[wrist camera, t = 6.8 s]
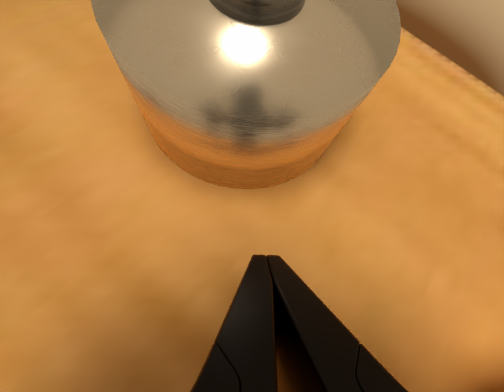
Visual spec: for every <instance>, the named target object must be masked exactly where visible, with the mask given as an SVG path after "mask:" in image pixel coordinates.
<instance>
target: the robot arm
mask: <svg viewBox="0 0 504 392" xmlns="http://www.w3.org/2000/svg"><path fill="white" fill-rule="evenodd" d="M190 392H408V391H407V390H406V389H405V388H404V387H403V386H402V385H401V384H400V383H399V382H398V381H397V380H396V379H395V378H394V377H393V376H392V375H391V374H390V373H389V372H388V371H387V370H386V369H385V368H384V367H383V366H382V365H381V364H380V363H379V362H378V361H377V360H376V359H375V358H374V357H373V355H372V354H371V353H370V352H369V351H368V350H367V349H366V348H365V347H364V346H363V345H362V344H360V345H359V341H358V340H357V338H356V337H355V336H354V335H353V334H352V333H351V332H350V331H349V330H348V329H347V328H346V327H345V326H344V325H343V323H342V322H341V321H340V320H339V319H338V318H337V317H336V316H335V315H334V314H333V313H332V312H331V311H330V310H329V308H328V307H327V306H326V305H325V304H324V303H323V302H322V301H321V300H320V299H319V298H318V297H317V296H316V295H315V293H314V292H313V291H312V290H311V289H310V288H309V287H308V286H307V285H306V284H305V283H304V282H303V281H302V280H301V278H300V277H299V276H298V275H297V274H296V273H295V272H294V271H293V270H292V269H291V268H290V267H289V266H288V265H287V263H286V262H285V261H284V260H283V259H282V258H281V257H280V256H278V255H267V256H265V255H253V256H252V258H251V260H250V262H249V264H248V267H247V269H246V271H245V274H244V276H243V278H242V280H241V283H240V285H239V287H238V289H237V292H236V294H235V296H234V298H233V301H232V303H231V305H230V308H229V310H228V312H227V314H226V317H225V319H224V321H223V323H222V326H221V328H220V330H219V332H218V335H217V337H216V339H215V342H214V344H213V346H212V348H211V350H210V352H209V355H208V357H207V359H206V361H205V363H204V365H203V367H202V369H201V372H200V374H199V376H198V378H197V380H196V382H195V384H194V386H193V387H192V389H191V391H190Z"/></svg>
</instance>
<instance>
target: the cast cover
mask: <svg viewBox="0 0 504 392" xmlns="http://www.w3.org/2000/svg"><path fill="white" fill-rule="evenodd" d="M91 3H92V8H93V11H94V15H95V18H96V21H97V23H98V25H99V27H100V29H101V31H102V33H103V36H104V38H105V40H106V42H107V44H108V46H109V48H110V50H111V52H112V54H113V56H114V58H115V60H116V62H117V64H118V66H119V68H120V70H121V72H122V74H123V76H124V78H125V80H126V82H127V84H128V87H129V89H130V91H131V93H132V95H133V97H134V99H135V101H136V103H137V105H138V107H139V109H140V111H141V113H142V115H143V117H144V119H145V121H146V123H147V125H148V127H149V129H150V131H151V133H152V135H153V137H154V139H155V141H156V143H157V144H158V146H159V147H160V148H161V150H162V151H163V152H164V153H165V154H166V155H167V156H168V157H169V159H170V160H171V161H173V162H174V163H175V164H176V165H178V166H179V167H180V168H181V169H183V170H185V171H186V172H188V173H190V174H191V175H193V176H195V177H197V178H199V179H202V180H204V181H206V182H209V183H213V184H216V185H219V186H225V187H230V188H241V189H253V188H264V187H269V186H273V185H277V184H280V183H283V182H286V181H288V180H290V179H292V178H294V177H296V176H298V175H300V174H301V173H303V172H304V171H306V170H307V169H309V168H310V167H311V166H312V165H313V164H314V163H315V162H316V161H317V160H318V159H319V157H320V156H321V155H322V154H323V152H324V151H325V150H326V148H327V147H328V146H329V144H330V143H331V142H332V141H333V139H334V138H335V137H336V135H337V134H338V133H339V132H340V130H341V129H342V128H343V126H344V125H345V124H346V122H347V121H348V120H349V119H350V117H351V116H352V115H353V113H354V112H355V111H356V109H357V108H358V107H359V106H360V104H361V103H362V102H363V100H364V99H365V98H366V96H367V95H368V94H369V93H370V91H371V90H372V89H373V87H374V86H375V85H376V83H377V82H378V81H379V80H380V78H381V77H382V76H383V74H384V73H385V72H386V71H387V69H388V68H389V67H390V65H391V63H392V61H393V59H394V57H395V55H396V52H397V49H398V45H399V42H400V33H401V23H400V14H399V10H398V7H397V3H396V0H91Z"/></svg>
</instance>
